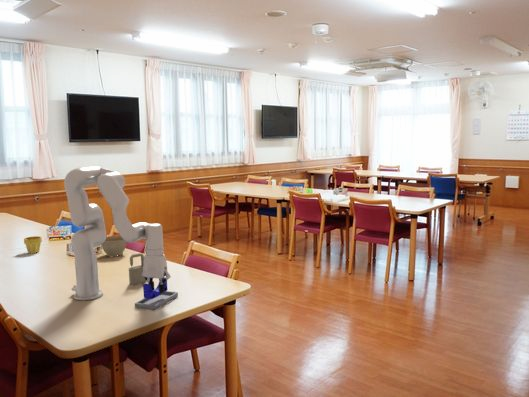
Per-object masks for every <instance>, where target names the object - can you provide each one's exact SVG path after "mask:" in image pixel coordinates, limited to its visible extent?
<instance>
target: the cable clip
mask: <svg viewBox="0 0 529 397" xmlns="http://www.w3.org/2000/svg"><path fill="white" fill-rule="evenodd" d="M164 277H165V278H166V276H164ZM159 284H160V282H158V283H157V286H156V287H155V288H154V290H152V288H151V284H148V283H147V282H144V283H142V287H143V288H142V289H143V298H148V299H153V298H155V297H158V296H160V295H161V293H159ZM165 291H168V280H167V281H166V282H165ZM165 291H164V292H165ZM162 293H163V292H162Z"/></svg>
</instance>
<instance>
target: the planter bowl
mask: <svg viewBox="0 0 529 397" xmlns="http://www.w3.org/2000/svg"><path fill="white" fill-rule="evenodd" d="M127 245H128V242H126V241H125V240H124V239H123V238H122V237H121V235H109V236H106V240H105V241H104V243H102V244H101V245H100V246H101V248H102V250H103V251H104V254H106V256H107V257H109V256H115V257H118V256H117V255H120V256H122V255H124V252H125V250H126V247H127ZM121 254H122V255H121Z"/></svg>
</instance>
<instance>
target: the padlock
mask: <svg viewBox="0 0 529 397" xmlns="http://www.w3.org/2000/svg"><path fill="white" fill-rule="evenodd" d="M144 256H145V254H143V253H140V252H139V253H136V254H131V256H130V257H129V264H130V266H131V267H129V268H128V277H129V278H128V279H129V280H128V282H129V285H131V286H134V285H135V286H136V285H140V284H145V283H147V280H146V279H145V278H144V277H143V276H142V273H143V262H144ZM138 257H140V263H141V265H135V266H134V258H138Z"/></svg>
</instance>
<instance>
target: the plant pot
mask: <svg viewBox="0 0 529 397" xmlns="http://www.w3.org/2000/svg"><path fill="white" fill-rule="evenodd" d="M42 238H43V237H42V236H37V235H36V236H27V237H24V238H23V243H24V245H25V248H26V252H27V253H28V254H30V253H33V254H37V253H36V252H38V253H39V252H40V249H41V245H42V244H41V243H42V241H43V239H42Z"/></svg>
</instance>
